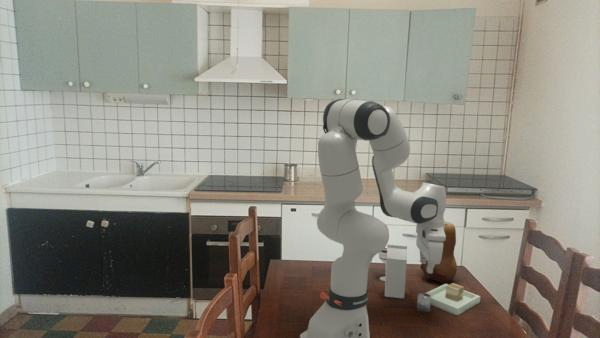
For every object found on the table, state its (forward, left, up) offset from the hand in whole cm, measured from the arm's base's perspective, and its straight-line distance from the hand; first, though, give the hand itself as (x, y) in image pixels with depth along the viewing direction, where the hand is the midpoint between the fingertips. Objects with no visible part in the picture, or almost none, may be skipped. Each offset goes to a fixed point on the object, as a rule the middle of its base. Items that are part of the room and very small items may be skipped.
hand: (426, 267), depth 151 cm
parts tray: (+13, -3, -15) cm, 20 cm away
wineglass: (+11, +25, -15) cm, 31 cm away
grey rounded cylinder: (0, 0, -15) cm, 15 cm away
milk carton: (+2, +14, -15) cm, 21 cm away
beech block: (+15, -3, -14) cm, 21 cm away
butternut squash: (+27, +11, -15) cm, 33 cm away
